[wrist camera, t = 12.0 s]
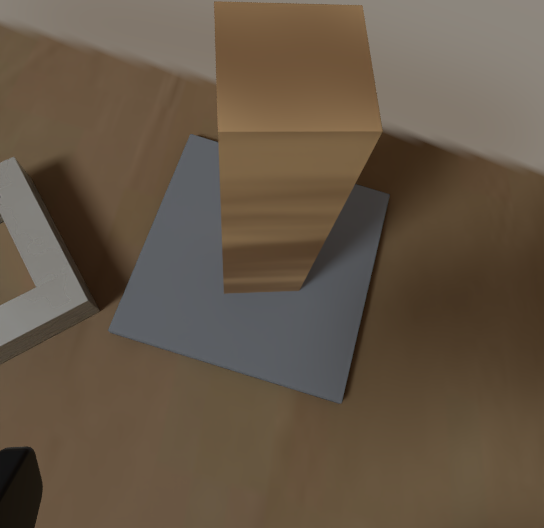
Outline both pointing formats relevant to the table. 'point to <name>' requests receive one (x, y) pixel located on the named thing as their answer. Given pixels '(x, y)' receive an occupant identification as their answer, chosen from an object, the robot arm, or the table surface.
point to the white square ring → (38, 269)
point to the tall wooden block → (288, 133)
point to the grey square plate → (249, 306)
